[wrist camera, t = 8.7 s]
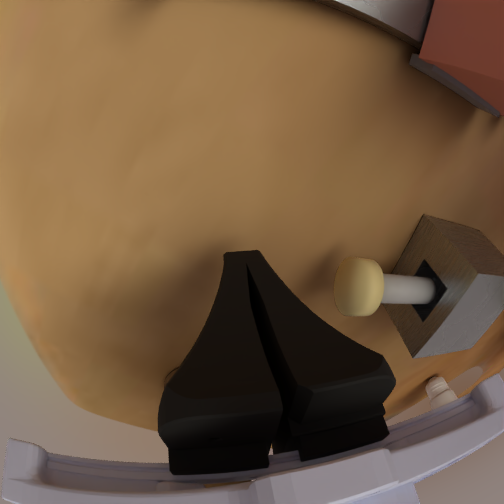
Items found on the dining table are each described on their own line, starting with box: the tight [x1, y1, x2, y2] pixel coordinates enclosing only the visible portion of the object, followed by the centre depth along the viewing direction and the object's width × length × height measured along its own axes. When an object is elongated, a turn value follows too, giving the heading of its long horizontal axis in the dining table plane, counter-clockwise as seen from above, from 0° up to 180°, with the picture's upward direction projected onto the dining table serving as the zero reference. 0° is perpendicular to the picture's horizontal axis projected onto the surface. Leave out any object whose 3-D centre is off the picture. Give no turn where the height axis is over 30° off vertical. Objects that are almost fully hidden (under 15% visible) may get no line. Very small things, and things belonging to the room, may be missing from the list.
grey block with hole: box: [383, 215, 504, 359], centre depth 16 cm, size 6×6×5 cm
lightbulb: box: [425, 377, 458, 410], centre depth 26 cm, size 6×6×11 cm
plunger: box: [334, 257, 436, 316], centre depth 14 cm, size 5×3×3 cm, turn 76°
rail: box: [314, 0, 435, 50], centre depth 7 cm, size 18×3×3 cm, turn 76°
